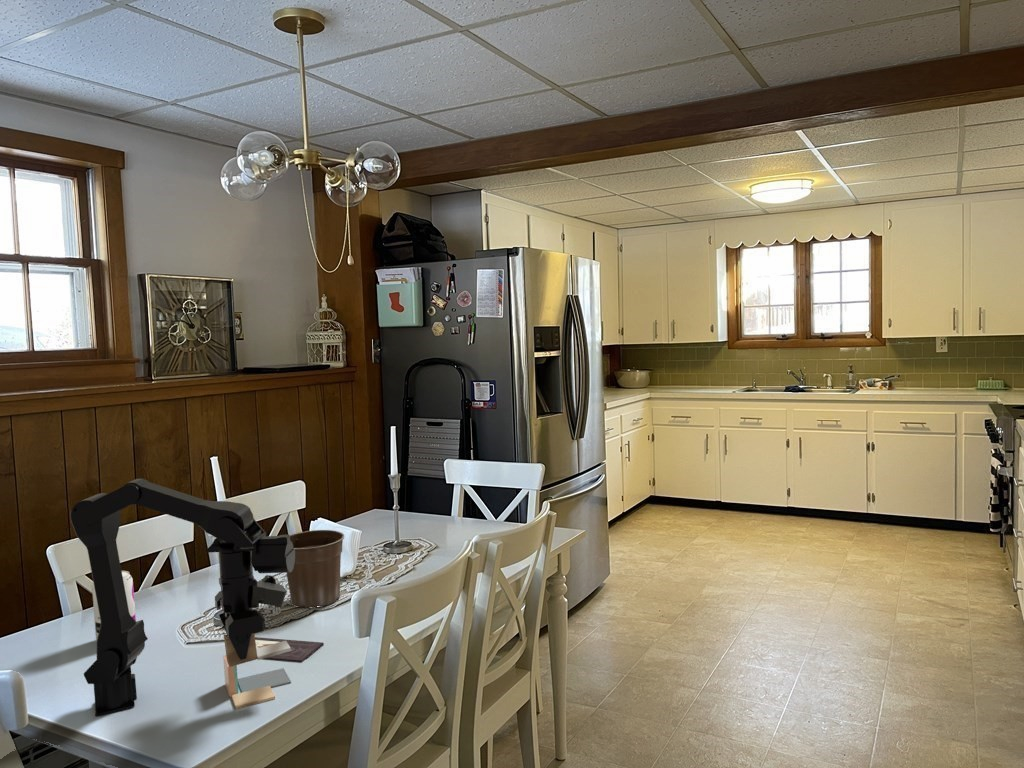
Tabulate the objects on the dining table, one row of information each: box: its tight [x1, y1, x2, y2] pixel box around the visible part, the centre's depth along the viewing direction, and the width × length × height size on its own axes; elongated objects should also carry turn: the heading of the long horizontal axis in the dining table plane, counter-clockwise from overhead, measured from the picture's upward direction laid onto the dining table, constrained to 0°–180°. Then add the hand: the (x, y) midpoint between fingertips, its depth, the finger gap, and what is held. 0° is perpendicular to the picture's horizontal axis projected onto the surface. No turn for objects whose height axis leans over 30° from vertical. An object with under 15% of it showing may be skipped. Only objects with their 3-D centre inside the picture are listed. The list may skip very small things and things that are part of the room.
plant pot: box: [285, 529, 345, 608], centre depth 196 cm, size 16×16×16 cm
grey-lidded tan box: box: [223, 633, 291, 667], centre depth 144 cm, size 11×4×5 cm, turn 118°
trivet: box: [238, 667, 292, 693], centre depth 151 cm, size 9×7×1 cm
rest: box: [231, 686, 276, 710], centre depth 145 cm, size 7×5×1 cm
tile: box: [222, 654, 240, 698], centre depth 148 cm, size 2×6×6 cm, turn 28°
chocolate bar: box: [255, 636, 325, 663], centre depth 166 cm, size 9×1×18 cm
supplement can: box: [91, 570, 137, 643], centre depth 175 cm, size 8×8×15 cm
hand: (241, 655), depth 143 cm, fingers closed on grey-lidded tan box, 3 cm apart
